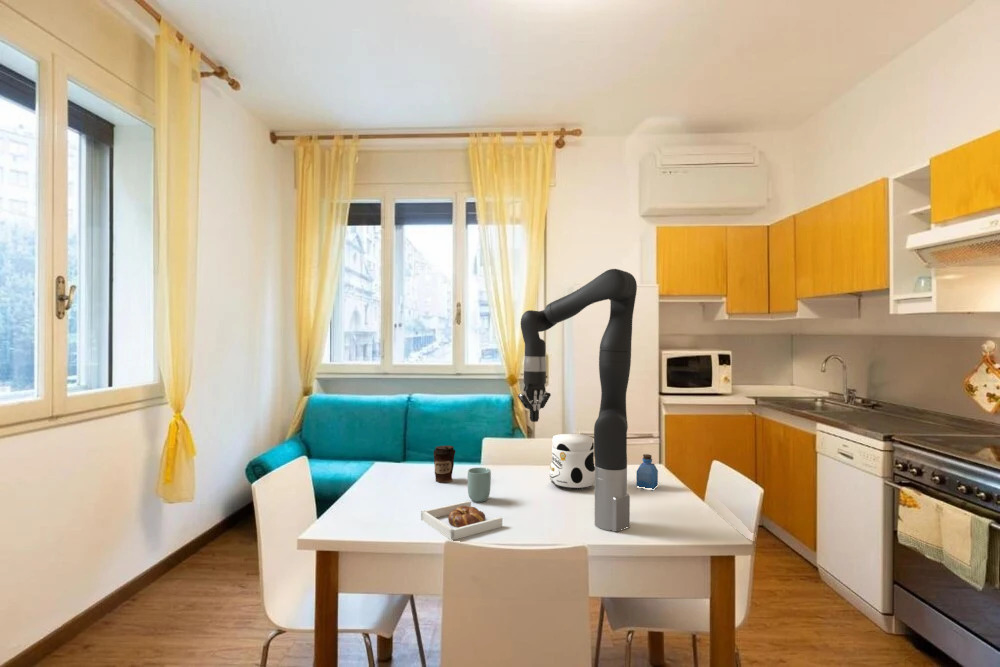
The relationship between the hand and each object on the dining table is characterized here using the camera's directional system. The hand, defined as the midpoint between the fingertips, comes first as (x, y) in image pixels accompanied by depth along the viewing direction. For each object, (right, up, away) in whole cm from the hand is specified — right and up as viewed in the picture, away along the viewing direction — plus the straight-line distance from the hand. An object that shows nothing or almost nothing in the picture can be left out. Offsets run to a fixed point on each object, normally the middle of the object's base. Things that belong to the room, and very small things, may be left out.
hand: (534, 421), depth 157 cm
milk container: (+16, -28, +18) cm, 37 cm away
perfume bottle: (+43, -28, +17) cm, 55 cm away
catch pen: (-23, -26, -19) cm, 40 cm away
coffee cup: (-33, -27, +23) cm, 49 cm away
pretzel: (-22, -27, -18) cm, 39 cm away
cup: (-19, -27, +1) cm, 33 cm away
